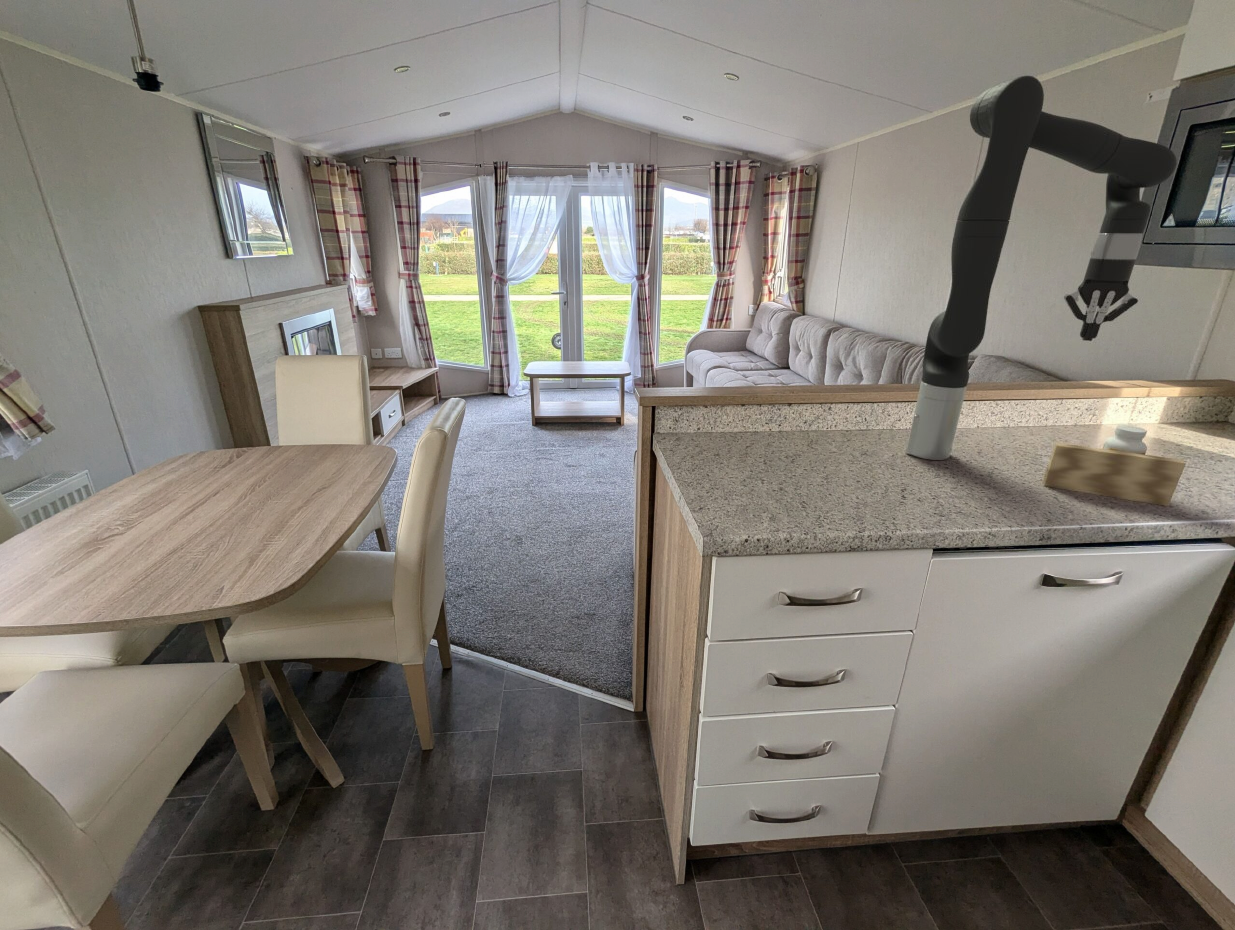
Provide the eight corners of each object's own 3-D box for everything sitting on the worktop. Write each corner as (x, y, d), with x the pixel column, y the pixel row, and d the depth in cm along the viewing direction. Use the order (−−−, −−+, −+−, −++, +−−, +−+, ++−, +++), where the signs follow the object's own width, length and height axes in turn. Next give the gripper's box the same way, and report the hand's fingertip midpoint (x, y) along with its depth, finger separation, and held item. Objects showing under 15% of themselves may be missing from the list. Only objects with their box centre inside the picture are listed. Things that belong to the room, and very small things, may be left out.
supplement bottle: (1138, 495, 115) (1161, 435, 110) (1100, 491, 117) (1121, 432, 112) (1120, 482, 121) (1141, 424, 116) (1084, 478, 123) (1104, 422, 118)
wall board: (1043, 485, 119) (1056, 445, 116) (1039, 474, 125) (1052, 436, 121) (1168, 506, 111) (1186, 463, 107) (1158, 493, 116) (1174, 452, 112)
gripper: (1077, 256, 119) (1053, 340, 126) (1159, 258, 113) (1129, 345, 120) (1071, 255, 125) (1048, 335, 132) (1148, 257, 119) (1120, 340, 126)
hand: (1086, 340), depth 126 cm, fingers closed
